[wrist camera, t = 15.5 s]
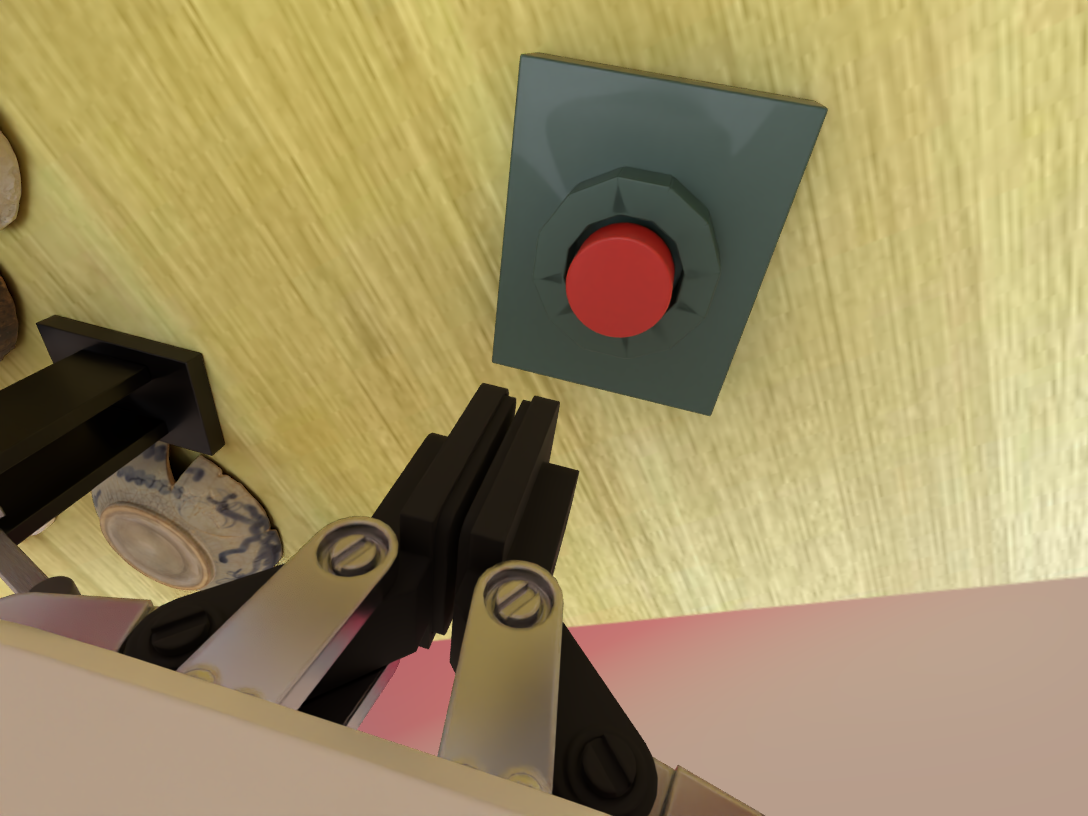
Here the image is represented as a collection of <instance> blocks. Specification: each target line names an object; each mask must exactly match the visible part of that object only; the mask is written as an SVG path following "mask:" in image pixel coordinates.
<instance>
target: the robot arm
mask: <svg viewBox="0 0 1088 816" xmlns="http://www.w3.org/2000/svg"><path fill="white" fill-rule="evenodd" d="M559 407H560V402H559V401H555V400H551V399H547V398H543V397H539V396H534V397H533V399H532V401H531V402H530V401H526V400H523V401H522V403H521V405H520V407H519V409H518V411H517V413H516V415H515V409H516V398H514V397H510V396H509V390H508V389H506V388H502V387H498V386H494V385H490V384H486V383H482V384H481V385H480V387H479V388H478V390H477V392H476V393H475V395H474V396H473V398H472V399H471V401H470V403H469V404H468V406H467V407H466V409H465V411H464V412H463V414H462V415H461V417H460V418H459V420H458V422H457V423H456V425H455V426H454V428H453V430H452V431H451V433H450V434H449V436H448V437H447V436H443V435H439V434H435V433H431V434H429V435H428V436H427V437H426V438H425V440H424V441H423V443H422V444H421V446H420V447H419V449H418V450H417V452H416V453H415V454H414V456H413V457H412V459H411V460H410V462H409V463H408V465H407V466H406V468H405V469H404V471H403V472H402V473H401V475H400V476H399V478H398V479H397V481H396V482H395V484H394V485H393V487H392V488H391V490H390V491H389V492H388V494H387V495H386V497H385V498H384V500H383V501H382V503H381V504H380V506H379V507H378V508H377V510H376V511H375V513H374V514H373V516H372V517H371V518H370V517H359V516H354V517H348V518H343V519H339V520H337V521H335V522H333V523H330V524H328V525H327V526H325V527H324V528H323V529H321V530H320V531H319V532H317V533H316V534H315V535H314V536H313V537H312V538H311V539H310V540H309V541H308V542H307V543H306V544H305V545H304V546H303V547H302V548H301V549H300V550H299V551H298V552H297V553H296V554H295V555H294V556H293V557H292V558H291V559H290V560H289V561H288V562H287V563H285V564H282V565H279V566H276V567H273V568H270V569H267V570H263V571H260V572H257V573H254V574H251V575H248V576H245V577H242V578H239V579H236V580H233V581H230V582H227V583H224V584H220V585H217V586H214V587H211V588H208V589H205V590H202V591H199V592H196V593H193V594H190V595H187V596H184V597H181V598H178V599H175V600H173V601H171V602H168V603H166V604H164V605H162V606H160V607H156V606H153V604H152V602H151V600H144V599H129V598H115V597H100V596H85V595H71V594H56V593H41V592H28V593H16V594H13V595H9V596H6V597H3V598H0V816H765V815H764V814H762V813H760V812H758V811H757V810H755V809H753V808H752V807H749V806H748V805H746V804H745V803H743V802H741V801H740V800H738V799H736V798H734V797H733V796H731V795H729V794H727V793H726V792H724V791H722V790H721V789H719V788H717V787H715V786H714V785H712V784H710V783H708V782H707V781H705V780H703V779H702V778H700V777H698V776H697V775H694V774H693V773H691V772H690V771H688V770H686V769H685V768H683V767H681V766H679V765H678V766H677V768H676V769H675V770H674V769H673V768H671V767H669V766H667V765H666V764H664V763H662V762H660V761H659V760H657V759H656V758H654V757H652V755H651V753H650V751H649V749H648V747H647V745H646V743H645V742H644V740H643V739H642V737H641V736H640V734H639V733H638V731H637V730H636V728H635V727H634V726H633V724H632V723H631V721H630V720H629V718H628V717H627V715H626V714H625V713H624V711H623V709H622V708H621V707H620V705H619V703H618V702H617V700H616V699H615V698H614V696H613V695H612V693H611V692H610V690H609V689H608V687H607V686H606V684H605V683H604V681H603V680H602V678H601V677H600V676H599V674H598V673H597V671H596V670H595V668H594V667H593V665H592V664H591V662H590V661H589V659H588V658H587V656H586V655H585V654H584V652H583V651H582V649H581V648H580V646H579V645H578V644H577V642H576V640H575V639H574V637H573V636H572V635H571V633H570V632H569V630H568V629H567V627H566V626H565V624H564V623H563V604H564V603H563V594H562V590H561V588H560V586H559V584H558V582H557V580H556V579H555V578H554V577H553V573H554V569H555V566H556V562H557V558H558V555H559V551H560V547H561V544H562V540H563V536H564V533H565V529H566V525H567V521H568V517H569V513H570V509H571V505H572V501H573V497H574V492H575V488H576V484H577V479H578V475H579V471H578V470H574V469H570V468H567V467H563V466H559V465H555V464H551V463H549V461H550V455H551V450H552V445H553V439H554V434H555V428H556V423H557V418H558V412H559ZM514 416H515V417H514ZM54 520H55V518H53V519H52V520H51V521H49V522H48V523H47V524H45V525H44V526H42V527H41V528H40V529H38V530H37V531H36V532H34V533H33V534H32V535H36V534H39V533H40V532H42V531H43V530H45V529H46V528H47V527H49V526H50V525H51V524H52V523H53V522H54ZM30 536H31V535H30ZM452 619H453V623H452V637H451V651H450V664H451V666H452V668H453V670H454V672H455V679H454V683H453V688H452V692H451V697H450V701H449V706H448V710H447V715H446V720H445V725H444V729H443V733H442V738H441V742H440V747H439V751H438V756H434V755H431V754H428V753H425V752H422V751H419V750H416V749H413V748H410V747H407V746H404V745H401V744H398V743H395V742H392V741H388V740H386V739H382V738H379V737H376V736H373V735H370V734H367V733H364V732H361V731H358V730H357V728H358V727H359V726H360V724H361V723H362V721H363V720H364V718H365V717H366V715H367V714H368V712H369V710H370V709H371V708H372V706H373V705H374V703H375V702H376V700H377V699H378V697H379V696H380V694H381V692H382V691H383V690H384V688H385V687H386V685H387V683H388V682H389V680H390V679H391V677H392V676H393V674H394V673H395V671H396V669H397V667H398V664H399V662H400V659H401V658H403V657H405V656H407V655H410V654H412V653H414V652H416V651H417V648H418V646H420V647H423V648H427V649H429V648H430V645H431V643H432V641H433V639H434V636H435V634H436V633H438V634H442V635H445V634H446V632H447V630H448V628H449V626H450V623H451V621H452Z"/></svg>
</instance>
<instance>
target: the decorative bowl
mask: <svg viewBox="0 0 1088 816" xmlns="http://www.w3.org/2000/svg"><path fill="white" fill-rule="evenodd" d="M92 498H93V503H94V507H95V510H96V513H97V515H98V517H99V519H100V526H101V530H102V533H103V535H104V537H105V538H106V540H107V541H108V543H109V544H110V546H111V547H112V548H113V549H114V550H115V551H116V552H117V553H118V555H119V556H121V557H122V558H123V559H124V560H125V561H126V562H127V563H128V564H129V565H131V566H132V567H133V568H135V569H136V570H137V571H139V572H140V573H142V574H144V575H145V576H147V577H149V578H151V579H153V580H155V581H157V582H159V583H161V584H164V585H167V586H169V587H173V588H176V589H181V590H200V591H202V590H205V589H208V588H211V587H214V586H217V585H220V584H224V583H227V582H230V581H233V580H236V579H239V578H242V577H245V576H248V575H251V574H254V573H257V572H260V571H263V570H267V569H270V568H273V567H274V565H275V564H277V562H278V561H279V560H280V559H281V557H282V554H283V553H282V544H281V541H280V538H279V535H278V532H277V530H275V529H272V530H270V526H271V525H270V521H269V519H268V517H267V515H266V512H265V510H264V509H263V508H262V506H261V505H260V503H259V502H258V501H257V500H256V499H254V498H253V496H251V495H250V493H249V492H248V491H247V490H246V489H245V488H244V486H243V485H242V484H241V483H238V482H236V481H235V480H234V479H232V478H231V477H230V476H228V475H222V470H221V468H219V467H218V466H217V465H215V464H214V463H213V462H211V461H210V460H207V459H206V458H204V457H203V456H201V455H200V456H198V457H197V458H196V459H195V460H194V461H193V462H192V463H191V464H190V466H189V467H188V468H187V469H186V470H185V472H184V473H183V474H182V475H181V477H180V478H179V479H178V481H177V482H175V480H174V478H173V475H172V472H171V468H170V463H169V444H168V443H165V442H161V441H158V442H156V443H155V444H153V445H152V446H151V447H149V448H148V449H147V450H145V451H144V452H143V453H141V454H140V455H139V456H137V457H136V458H135V459H133V460H132V461H130V462H129V463H128V464H126V465H125V466H124V467H122V468H121V469H120V470H118V471H117V472H116V473H114V474H113V475H112V476H110V477H109V478H107V479H106V480H105V481H103V482H102V483H101V484H99V485H98V486H97V487H95V488H94V489H93V490H92Z"/></svg>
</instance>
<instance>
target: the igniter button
mask: <svg viewBox="0 0 1088 816" xmlns="http://www.w3.org/2000/svg"><path fill="white" fill-rule="evenodd" d="M674 273H675V270H674V262H673V258H672V255H671V252H670V250H669V248H668V246H667V245H666V244H665V242H664V241H663V240H662V239H661V238H660V237H659V236H658V235H657V234H656V233H655V232H653V231H652V230H650V229H648V228H646V227H644V226H642V225H638V224H635V223H624V222H621V223H614V224H610V225H607V226H604V227H602V228H600V229H598V230H597V231H595V232H594V233H592V234H591V235H590V236H589V237H588V238H587V239H586V240H585V241H584V243H583V244H582V246H581V247H580V249H579V251H578V252H577V254H576V256H575V257H574V259H573V261H572V263H571V264H570V267H569V269H568V272H567V277H566V294H567V299H568V302H569V304H570V307H571V309H572V311H573V312H574V314H575V315H576V316H577V318H578V319H579V320H580V321H581V322H582V323H583V324H584V325H585V326H587V327H588V328H589V329H591V330H593V331H595V332H597V333H599V334H602V335H605V336H609V337H619V338H621V337H630V336H634V335H637V334H640V333H643V332H645V331H647V330H648V329H650V328H651V327H653V326H654V325H655V324H656V323H657V322H658V321H659V320H660V319H661V318H662V317H663V315H664V314H665V312H666V310H667V308H668V306H669V303H670V301H671V296H672V290H673V282H674Z"/></svg>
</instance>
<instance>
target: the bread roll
mask: <svg viewBox="0 0 1088 816" xmlns="http://www.w3.org/2000/svg"><path fill="white" fill-rule="evenodd" d="M20 197H21V176H20V171H19V165H18V162H17V158H16V155H15V153H14V151H13V149H12V148H11V145H10V143H9V141H8V139H7V138H6V137H5V136H4V135H3V134H2V132H1V130H0V230H2V229H4V228H5V227H6V226H7V225H8V224H10V223H11V222H12V221H14V220H15V219H16V218H17V213H18V209H19V200H20Z"/></svg>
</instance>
